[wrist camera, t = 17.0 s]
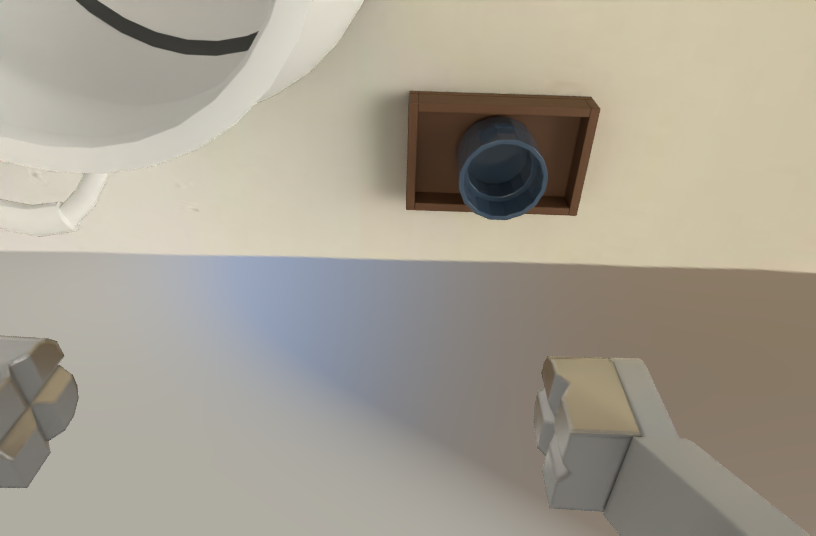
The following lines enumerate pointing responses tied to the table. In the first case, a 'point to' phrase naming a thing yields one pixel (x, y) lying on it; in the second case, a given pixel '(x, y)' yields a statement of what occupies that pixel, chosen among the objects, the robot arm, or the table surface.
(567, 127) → the tray
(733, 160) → the table surface
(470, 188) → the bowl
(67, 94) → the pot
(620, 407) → the robot arm
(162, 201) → the table surface
